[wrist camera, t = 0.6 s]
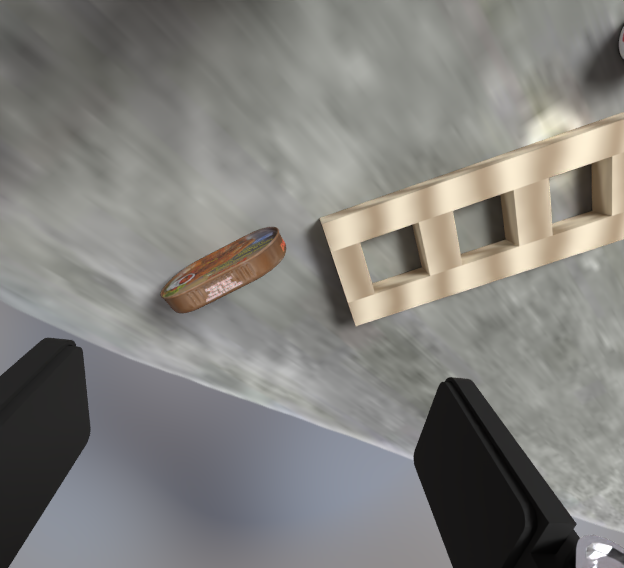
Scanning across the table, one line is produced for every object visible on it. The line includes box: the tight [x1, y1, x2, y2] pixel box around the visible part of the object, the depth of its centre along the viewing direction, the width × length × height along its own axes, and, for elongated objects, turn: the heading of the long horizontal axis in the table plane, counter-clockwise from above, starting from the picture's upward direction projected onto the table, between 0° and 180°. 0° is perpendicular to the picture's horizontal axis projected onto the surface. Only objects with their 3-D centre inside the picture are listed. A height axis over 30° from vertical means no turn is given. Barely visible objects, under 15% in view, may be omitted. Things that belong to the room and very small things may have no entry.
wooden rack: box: [320, 113, 624, 326], centre depth 43 cm, size 36×14×3 cm, turn 109°
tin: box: [160, 227, 286, 313], centre depth 41 cm, size 15×3×8 cm, turn 116°
